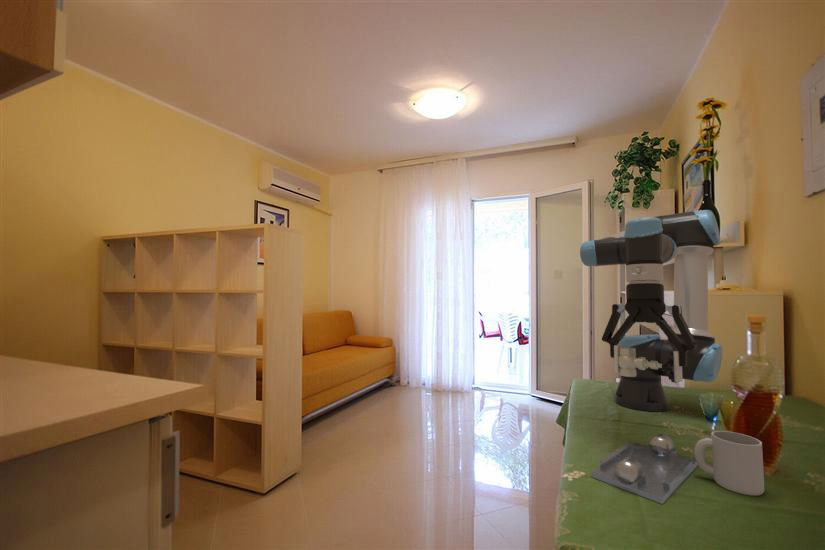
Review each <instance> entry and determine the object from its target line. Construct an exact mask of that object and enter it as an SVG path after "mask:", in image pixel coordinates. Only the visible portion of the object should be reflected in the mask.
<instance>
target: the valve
mask: <svg viewBox="0 0 825 550" xmlns="http://www.w3.org/2000/svg"><path fill="white" fill-rule="evenodd" d="M619 354H620V355H619V357H618V365H619V367H620V368H619V373H618V374H619V376H620V375H621V376H626V377H636V369H635V368H638V369H639V370H645V369H646V368H648V367H650V368H651V369H658V368H662V370H663V371H665V374H666V375H667V376H668V377H667V378H668V380H670V382H671V383H675V384H678V382H675V376H674V352H671V353H670V355H673V357H668V361H667V362H662V364H660V363H658V362H657V361H650V362H648V360H646V359H645V358H644V357H639V358H636V357H635V356H636V349H635V348H629V347H619ZM668 371H670V374H669V373H668Z"/></svg>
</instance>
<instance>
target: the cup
mask: <svg viewBox="0 0 825 550" xmlns="http://www.w3.org/2000/svg"><path fill="white" fill-rule="evenodd" d="M708 447H709V448H710V447H711V457H712V458H711V459H712V465H710V464H709V463H708V462H707V460H706V457H705V455H706V454H705V453H706V449H707V448H708ZM693 449H694V450H693V451H694V453H693V454H694V459H695V460H696V462H697V464H698V467H699V468H700V469H702V471H703V472H706V473H708V474H711V475H712V477H713V479H714V481H715V482H716V484H717V485H718V486H720V487H722V488H723V489H725V490H727V491H730V492H734V493H736V494H740V495H744V496H751V497H757V496H762V495H763V494H764V492H765V475H764V474H765V473H764V472H765V471H764V458H763V456H764V454H763V442H762V441H761V440H759V439H758V438H756V437H752V436H751V435H746V434H743V433H740V432H739V433H738V432H733V431H726V430H715V431H712V432H711V438H709V437H705V438H701V439H699V440H698V441H697V442H696V443H695V445H694V448H693Z"/></svg>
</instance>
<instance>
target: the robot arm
mask: <svg viewBox="0 0 825 550" xmlns="http://www.w3.org/2000/svg"><path fill="white" fill-rule="evenodd" d="M720 244H721V234H720V229H719V226H718V222H717V219H716V216H715V214H714V213H713V211H712V210H710V209H703V210H702V209H701V210H693V211H686V212H678V213H670V214H666V215H657V216H656V215H655V216H652V217H651V216H649V217H648V216H647V217H638V218H633V219H629V220H628V221H627V222H626V223H625V226H624V230H623V231H620V232H617V233H615V234H613V235H609V236H607V237H603V238H601V239H592V240H586V241H583V242H582V244H581V245H580V249H579V256H580V257H579V258H580V260H581V262H582V264H583V265H584V266H586V267H601V266H602V267H603V266H604V267H605V266H614V265H615V266H616V265H617V266H618V265H625V281H626V282H627V283H628V284H626V286H625V293H626V294H625V295H626V303H625V304H620V303H613V304H612V306H611V315H610V318H609V320H608V322H607V325H606V326H605V329H604V332H603V334H602V336H601V341H603V342H606V343H608V344H609V349H610V351H609V353H610V354H609V355H610V358H612V359H613V363H614V365H613V366H614V370H613V371H614V373H616V374H617V373H618V374H619V368H620V367H619V365H618V357H619V355H620V354H619V347H629V348H635V349H636V356H635V357H636V358H639V357H644V358H645V359H646V360H648V362H650V361H657V362H658V363H660V364H662V362H667V361H668V357H673V355H670V353H671V352H674V376H675V382H677V383H680V382H681V383H682V382H683V380H687V381H693V382H705V383H712V382H714V381H716V379H717V378H718V376H719V373H720V370H721V364H722V359H723V348H722V345H721V344H720V343H718V342H715V341H716V338H715V336H713V334H711V333H710V332H709V281H708V280H709V269H708V267H709V266H708V265H709V263H708V261H709V260H708V257H709V256H710V255H711V254H713V253H714V252H715V247H716V246H719V245H720ZM673 259H674V260H673ZM672 260H673V261H674V262H673V265H674V266H673V267H674V268H673V305H666V303H665V285H664V284H663V283H662V282H664V277H665V276H664V264H667V263H669V262H670V261H672ZM624 311H626V312H627V314H628V315H627V317H626V318H625V319H624V322H623V323H622V324H621V326H620V327H619V328H618V330H616V328H617V325H618V323H619V321H620V318H621V316H622V314H624ZM666 312H668V314H669V315H671V316H672V318H673V329H672V327H671V326H670V325H669V324H668V322H667V320H666V318H665V317H663V315H664V314H665V313H666ZM636 323H648V324H655V325H656V326H658V327H659V329H660V330H661V331H662V332H663V333H664V335H665V336H666V337H667V339H661V335H659V334H657V333H656V334H634V335H633V334H632V335H631V334H630V335H626V334H627V333H628V332H629V330H630V329H631V328H632V327H633V325H634V324H636ZM615 330H616V332H615ZM614 332H615V333H614ZM635 369H636V377H626V376H621V375H619V377H620V378H619V382H618V386H617V388H616V390H615V393H614V394H615V395H614V401H615V403H616V404H617V405H619V406H622V407H625V408H629V409H633V410H637V411H638V410H639V411H646V412H665V411H668V410H669V409H670V402H669V398H668V396H667V394H666V392H665V389H664V387H663V384H662V377H666V378H668V376H667V375H666V374H665V371H663V370H662V368H658V369H651V368H650V367H648V368H646V369H645V370H639V369H638V368H635ZM668 373H669V374H670V371H668Z"/></svg>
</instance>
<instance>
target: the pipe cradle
mask: <svg viewBox="0 0 825 550" xmlns="http://www.w3.org/2000/svg"><path fill="white" fill-rule="evenodd" d="M674 447H675V446H674V442H673V440H672V438H670V436H668V435H666V434H662V433H660V434H657V435H656V436H654V437H653V438H652V439H650V440H649V442H648V445H645V444H641V443H637V442H633V443H631V442H627V443H625V444H623V445H622V446H621V447H620V448H617V449H616V450H614V451H613V452H612V453H610V454H609V455H607V456H605V457H603V458H602V459H601V460H599V466H598V467H596V468H595V469H593V470H592V471H591V475H590V476H591V478H593V479H595V480H598V481H601V482H603V483H606V484H608V485H611V486H613V487H616V488H619V489H622V490H623V491H627V492H629V493H632V494H634V495H637V496H640V497H643V498H646V499H648V500H650V501H653V502H655V503H659V504H660V505H664V503H665V502H666V501H667V500H668V499H669V497H671V496H672V495H673V494H674V492H675V491H676V490H677V489H678V488H679V487H680V486H681V484H682V483H684V481H685V480H686V479H687V478H688V477H689V476H690V475H691V474H692V473H693V471H694V470H695V469H696V468H697V466H698V467H699V465H698V464H697V462H696V459H695V458H690V457H687V456H684V455H681V454H680V455H679V454H678V453H677V449H676V448H674Z"/></svg>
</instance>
